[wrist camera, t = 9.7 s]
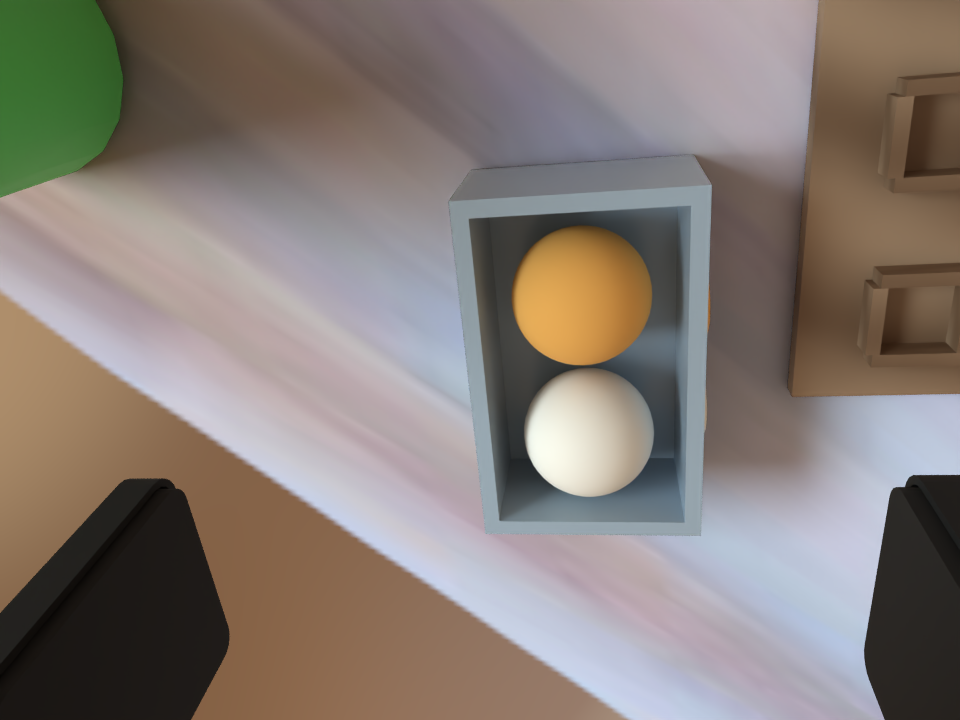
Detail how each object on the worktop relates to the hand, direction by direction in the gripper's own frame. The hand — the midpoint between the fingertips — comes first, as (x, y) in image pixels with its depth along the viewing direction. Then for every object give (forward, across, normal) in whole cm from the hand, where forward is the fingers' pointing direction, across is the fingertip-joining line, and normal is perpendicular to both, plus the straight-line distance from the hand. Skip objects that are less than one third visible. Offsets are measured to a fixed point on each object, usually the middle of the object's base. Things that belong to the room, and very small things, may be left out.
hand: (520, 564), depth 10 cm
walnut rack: (+21, -12, -1) cm, 24 cm away
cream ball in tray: (+18, 0, +9) cm, 20 cm away
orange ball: (+18, 0, +3) cm, 18 cm away
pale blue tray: (+21, 0, +6) cm, 22 cm away
